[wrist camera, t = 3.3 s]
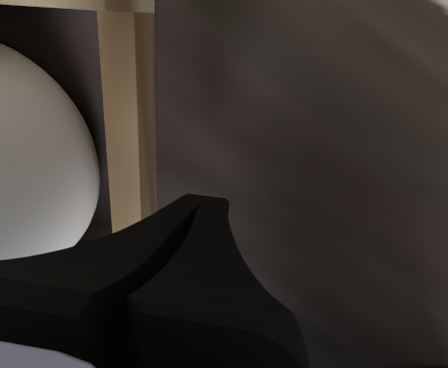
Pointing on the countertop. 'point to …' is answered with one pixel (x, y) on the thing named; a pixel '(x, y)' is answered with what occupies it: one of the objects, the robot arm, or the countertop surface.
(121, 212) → the bay
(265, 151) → the countertop surface
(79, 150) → the cup
